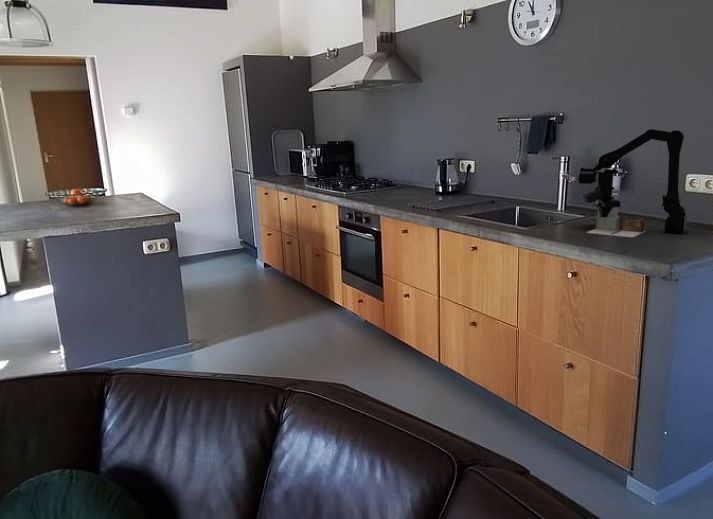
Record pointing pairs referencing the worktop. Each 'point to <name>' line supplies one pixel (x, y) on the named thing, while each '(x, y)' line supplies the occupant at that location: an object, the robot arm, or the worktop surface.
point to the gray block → (615, 209)
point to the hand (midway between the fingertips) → (602, 221)
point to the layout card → (615, 232)
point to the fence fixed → (631, 225)
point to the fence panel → (607, 222)
